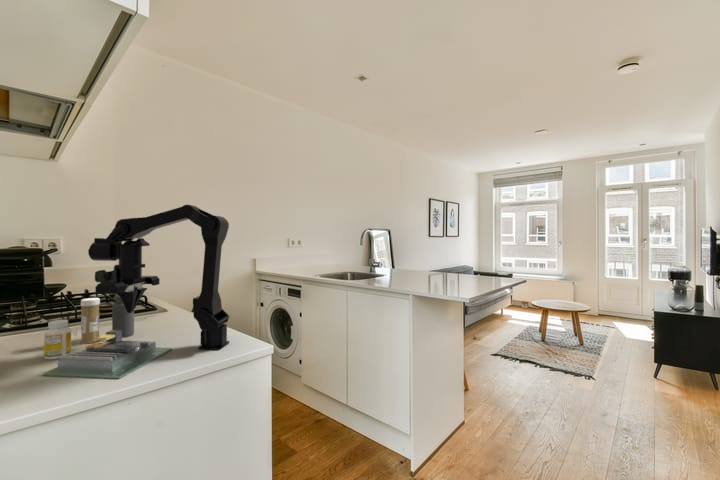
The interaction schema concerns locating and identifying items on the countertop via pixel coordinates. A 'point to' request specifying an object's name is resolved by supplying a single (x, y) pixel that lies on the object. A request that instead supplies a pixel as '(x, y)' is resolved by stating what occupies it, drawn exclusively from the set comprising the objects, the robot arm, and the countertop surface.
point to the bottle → (122, 318)
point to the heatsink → (107, 361)
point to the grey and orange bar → (111, 347)
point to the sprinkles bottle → (90, 320)
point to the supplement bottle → (57, 339)
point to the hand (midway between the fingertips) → (130, 312)
